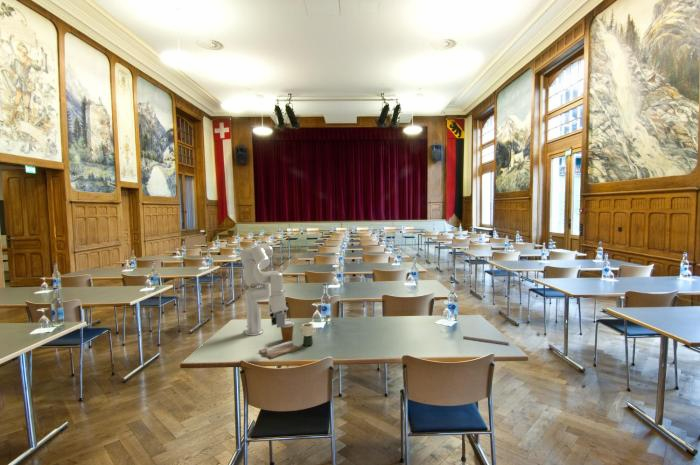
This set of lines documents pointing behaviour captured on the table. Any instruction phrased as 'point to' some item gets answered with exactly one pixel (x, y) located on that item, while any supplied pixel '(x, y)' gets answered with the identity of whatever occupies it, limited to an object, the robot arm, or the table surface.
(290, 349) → the rail board
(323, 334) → the table surface
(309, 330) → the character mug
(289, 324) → the disposable coffee cup
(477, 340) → the metal rod
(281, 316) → the block
